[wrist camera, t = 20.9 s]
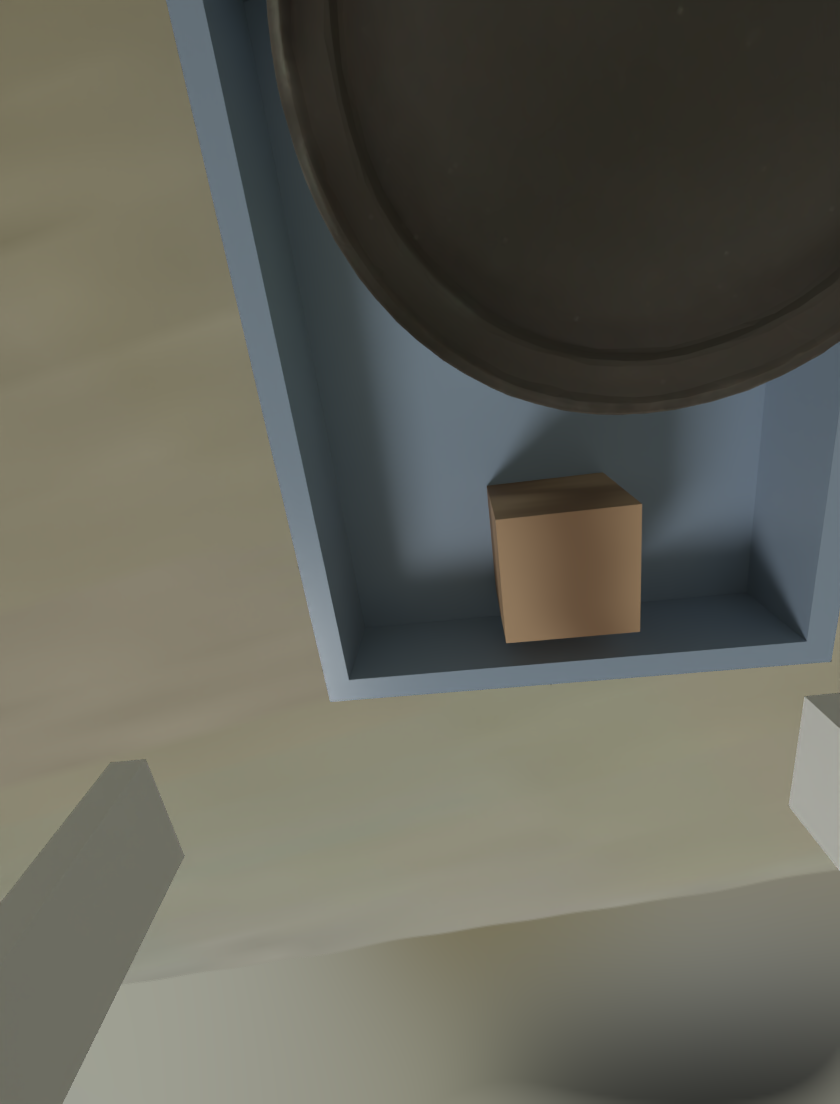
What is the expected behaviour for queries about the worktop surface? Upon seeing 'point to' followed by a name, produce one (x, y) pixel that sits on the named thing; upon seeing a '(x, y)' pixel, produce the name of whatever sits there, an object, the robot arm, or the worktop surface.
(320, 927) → the worktop surface
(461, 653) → the tote
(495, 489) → the brown wooden cube
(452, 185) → the coffee can
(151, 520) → the worktop surface
